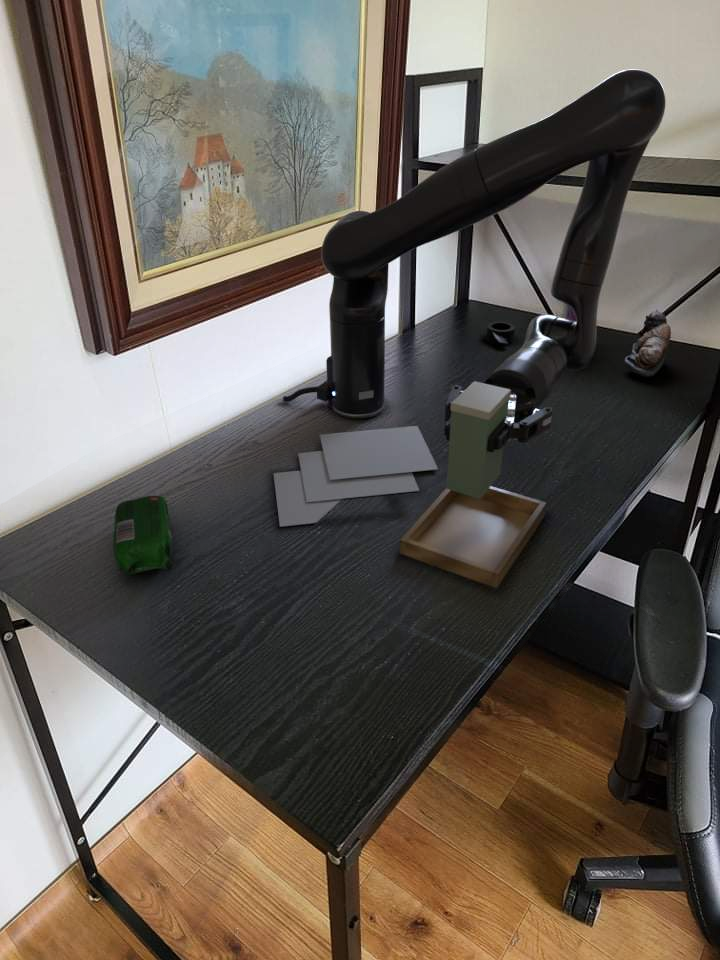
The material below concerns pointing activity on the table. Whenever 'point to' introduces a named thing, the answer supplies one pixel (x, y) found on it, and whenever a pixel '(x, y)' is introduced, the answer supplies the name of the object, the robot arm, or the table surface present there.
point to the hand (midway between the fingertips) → (469, 439)
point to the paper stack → (351, 471)
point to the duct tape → (500, 333)
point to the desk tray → (474, 533)
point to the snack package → (142, 535)
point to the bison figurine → (650, 346)
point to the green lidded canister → (475, 438)
